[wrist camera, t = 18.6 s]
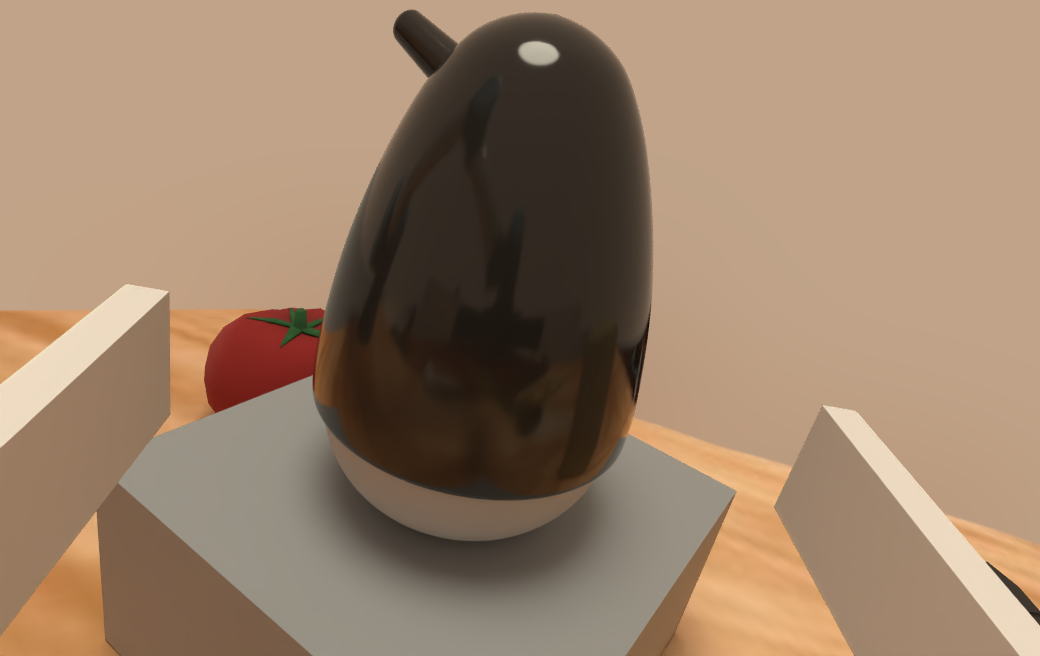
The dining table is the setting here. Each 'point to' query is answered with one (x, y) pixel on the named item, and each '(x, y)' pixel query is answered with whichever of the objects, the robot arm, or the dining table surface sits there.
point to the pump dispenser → (493, 284)
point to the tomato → (261, 355)
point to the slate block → (382, 554)
